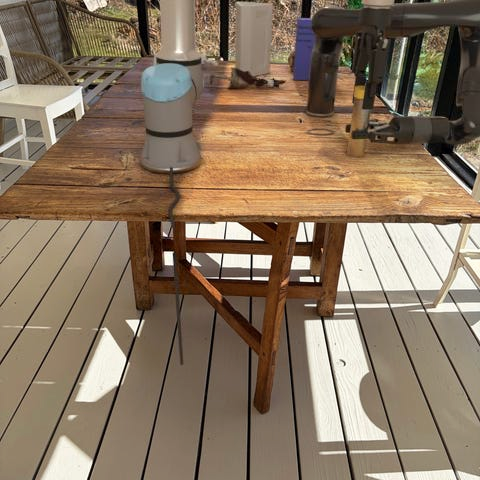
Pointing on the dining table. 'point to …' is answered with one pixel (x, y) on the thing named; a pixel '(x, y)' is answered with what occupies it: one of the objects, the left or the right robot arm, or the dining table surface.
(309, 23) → the cereal box
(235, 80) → the figurine
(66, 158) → the dining table surface
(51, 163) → the dining table surface
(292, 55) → the anatomical model
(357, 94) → the lid
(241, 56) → the tall white pillar
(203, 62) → the toy
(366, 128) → the tan cylinder
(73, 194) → the dining table surface
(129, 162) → the dining table surface
